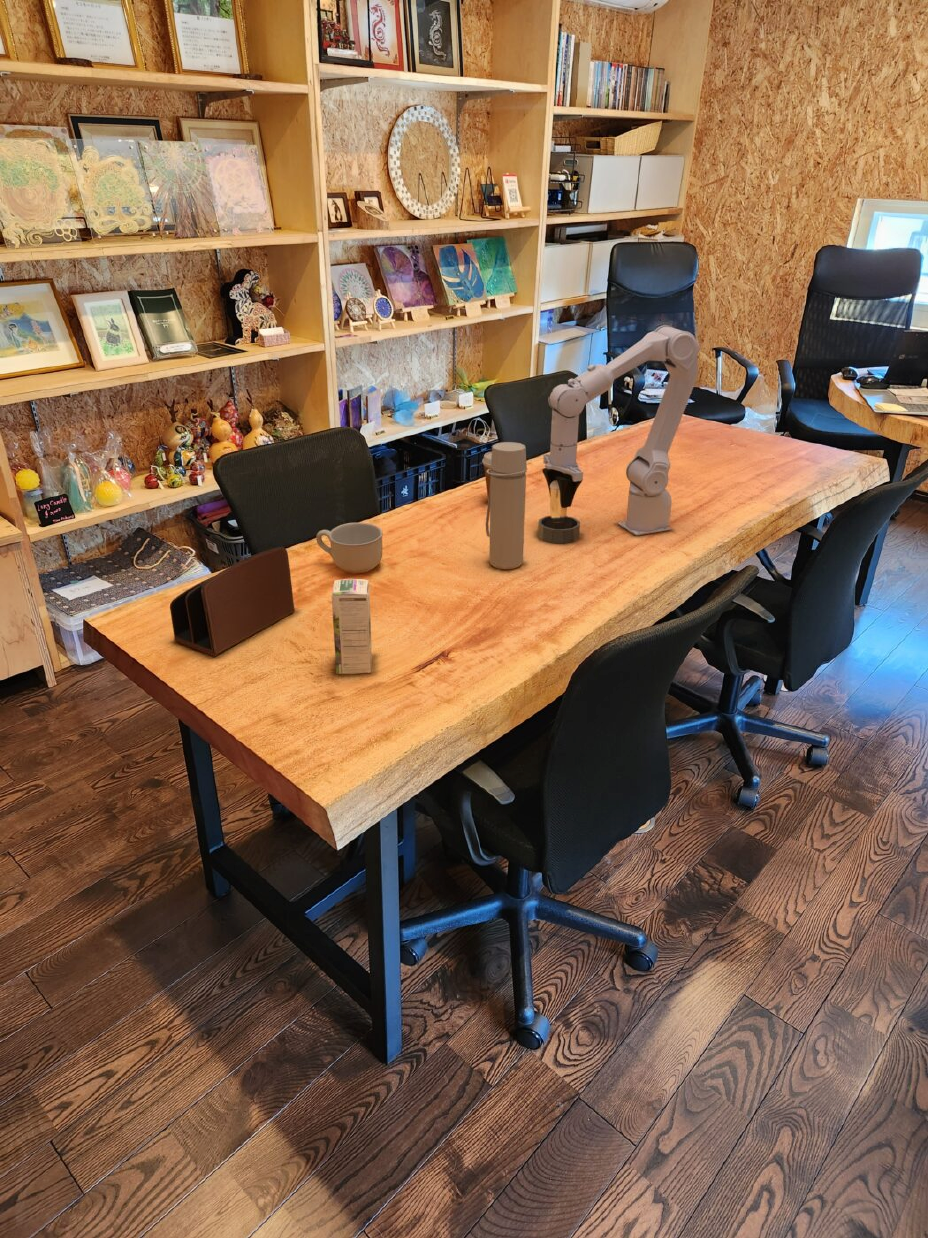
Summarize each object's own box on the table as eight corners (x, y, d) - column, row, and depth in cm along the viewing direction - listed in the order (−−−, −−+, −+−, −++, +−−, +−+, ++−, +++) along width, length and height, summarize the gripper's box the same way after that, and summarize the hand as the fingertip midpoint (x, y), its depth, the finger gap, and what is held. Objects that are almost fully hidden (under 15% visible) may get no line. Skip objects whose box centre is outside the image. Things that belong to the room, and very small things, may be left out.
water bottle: (531, 563, 173) (536, 446, 161) (507, 574, 168) (510, 454, 156) (498, 551, 179) (500, 437, 167) (473, 562, 173) (474, 445, 162)
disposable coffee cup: (526, 500, 207) (528, 453, 202) (507, 511, 200) (509, 463, 195) (494, 493, 212) (494, 447, 206) (474, 504, 205) (474, 457, 199)
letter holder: (295, 612, 153) (288, 541, 146) (215, 658, 138) (202, 581, 132) (256, 599, 158) (247, 530, 151) (174, 642, 143) (160, 568, 136)
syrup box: (338, 657, 138) (331, 578, 132) (373, 656, 139) (369, 577, 132) (336, 675, 133) (329, 594, 127) (372, 673, 134) (368, 593, 127)
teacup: (393, 562, 173) (391, 527, 169) (366, 582, 164) (364, 545, 161) (337, 551, 178) (334, 516, 175) (308, 570, 170) (304, 534, 166)
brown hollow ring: (566, 526, 192) (567, 513, 190) (586, 539, 184) (587, 526, 183) (531, 531, 189) (531, 518, 187) (549, 545, 181) (550, 532, 180)
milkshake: (570, 525, 182) (574, 482, 178) (546, 522, 183) (549, 480, 178) (572, 517, 186) (575, 475, 181) (548, 515, 187) (551, 473, 182)
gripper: (532, 436, 181) (529, 495, 188) (563, 454, 169) (560, 516, 176) (560, 433, 184) (557, 491, 190) (593, 450, 172) (589, 511, 178)
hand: (560, 503), depth 183 cm, fingers closed on milkshake, 4 cm apart
